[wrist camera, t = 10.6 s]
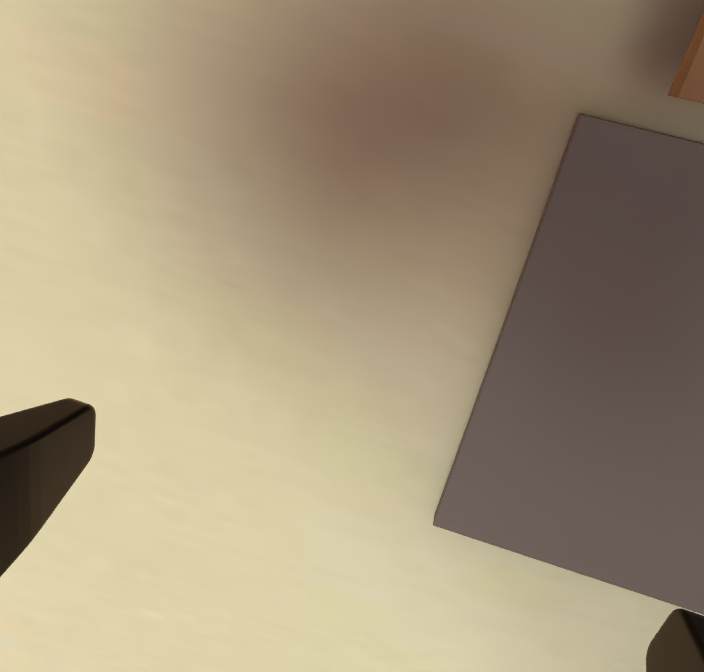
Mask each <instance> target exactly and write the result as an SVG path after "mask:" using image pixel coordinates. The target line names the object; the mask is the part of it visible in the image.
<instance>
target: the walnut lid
mask: <svg viewBox="0 0 704 672" xmlns="http://www.w3.org/2000/svg"><path fill="white" fill-rule="evenodd" d="M668 95H669V96H673V97H678V98H682V99H686V100H690V101H695V102H699V103H703V104H704V11H703V14H702V16H701V18H700V21H699V23H698V25H697V28H696V30H695V33H694V35H693V37H692V40H691V42H690V44H689V47H688V49H687V52H686V54H685V56H684V59H683V61H682V64H681V66H680V68H679V71H678V73H677V75H676V78H675V80H674V83H673V85H672V87H671V90H670V92H669V94H668Z"/></svg>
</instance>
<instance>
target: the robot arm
mask: <svg viewBox="0 0 704 672" xmlns="http://www.w3.org/2000/svg"><path fill="white" fill-rule="evenodd" d="M95 419H96V414H95V409H94V408H93V407H92V406H91V405H90V404H87V403H84V402H81V401H78V400H75V399H71V398H67V399H63V400H59V401H55V402H52V403H48V404H44V405H41V406H37V407H34V408H30V409H26V410H23V411H19V412H16V413H12V414H8V415H5V416H1V417H0V577H1V576H2V574H3V573H4V572H5V571H6V570H7V569H8V568H9V567H10V565H11V564H12V563H13V562H14V561H15V560H16V559H17V558H18V556H19V555H20V554H21V553H22V552H23V551H24V549H25V548H26V547H27V546H28V545H29V543H30V542H31V541H32V540H33V538H34V537H35V536H36V535H37V533H38V532H39V531H40V529H41V528H42V527H43V525H44V524H45V522H46V521H47V520H48V518H49V517H50V515H51V514H52V513H53V511H54V510H55V508H56V507H57V506H58V504H59V503H60V502H61V500H62V499H63V497H64V496H65V495H66V493H67V492H68V490H69V489H70V488H71V486H72V485H73V483H74V482H75V481H76V479H77V478H78V476H79V475H80V474H81V472H82V471H83V469H84V468H85V467H86V465H87V464H88V462H89V461H90V459H91V457H92V454H93V451H94V446H95ZM646 672H704V616H702V615H699V614H696V613H693V612H690V611H687V610H685V609H676V610H674V611H673V612H672V613H671V614H670V615H669V617H668V618H667V620H666V621H665V622H664V624H663V625H662V627H661V628H660V630H659V631H658V633H657V634H656V635H655V637H654V638H653V640H652V641H651V643H650V645H649V647H648V650H647V655H646Z"/></svg>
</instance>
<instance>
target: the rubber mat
mask: <svg viewBox="0 0 704 672" xmlns="http://www.w3.org/2000/svg"><path fill="white" fill-rule="evenodd" d="M433 525H434V526H437V527H440V528H443V529H446V530H449V531H452V532H455V533H458V534H461V535H464V536H467V537H470V538H473V539H476V540H479V541H482V542H485V543H488V544H491V545H494V546H498V547H501V548H504V549H507V550H510V551H513V552H516V553H519V554H522V555H525V556H528V557H531V558H534V559H537V560H540V561H543V562H546V563H549V564H552V565H555V566H558V567H561V568H564V569H567V570H570V571H573V572H576V573H579V574H582V575H586V576H589V577H592V578H595V579H598V580H601V581H604V582H607V583H610V584H613V585H616V586H619V587H622V588H625V589H628V590H631V591H634V592H637V593H640V594H643V595H646V596H649V597H652V598H655V599H658V600H661V601H664V602H667V603H670V604H674V605H677V606H680V607H683V608H686V609H689V610H692V611H695V612H698V613H701V614H704V144H703V143H699V142H695V141H691V140H687V139H682V138H678V137H674V136H670V135H666V134H662V133H658V132H653V131H649V130H645V129H641V128H637V127H633V126H629V125H624V124H620V123H616V122H612V121H608V120H604V119H600V118H595V117H591V116H587V115H583V114H579V115H578V118H577V121H576V124H575V127H574V129H573V132H572V135H571V138H570V140H569V143H568V146H567V149H566V152H565V154H564V157H563V160H562V163H561V165H560V168H559V171H558V174H557V177H556V179H555V182H554V185H553V188H552V190H551V193H550V196H549V199H548V202H547V204H546V207H545V210H544V213H543V215H542V218H541V221H540V224H539V227H538V229H537V232H536V235H535V238H534V240H533V243H532V246H531V249H530V252H529V254H528V257H527V260H526V263H525V265H524V268H523V271H522V274H521V277H520V279H519V282H518V285H517V288H516V290H515V293H514V296H513V299H512V302H511V304H510V307H509V310H508V313H507V315H506V318H505V321H504V324H503V327H502V329H501V332H500V335H499V338H498V340H497V343H496V346H495V349H494V352H493V354H492V357H491V360H490V363H489V365H488V368H487V371H486V374H485V377H484V379H483V382H482V385H481V388H480V390H479V393H478V396H477V399H476V402H475V404H474V407H473V410H472V413H471V415H470V418H469V421H468V424H467V427H466V429H465V432H464V435H463V438H462V440H461V443H460V446H459V449H458V452H457V454H456V457H455V460H454V463H453V465H452V468H451V471H450V474H449V476H448V479H447V482H446V485H445V488H444V490H443V493H442V496H441V499H440V501H439V504H438V507H437V510H436V513H435V516H434V522H433Z"/></svg>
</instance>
